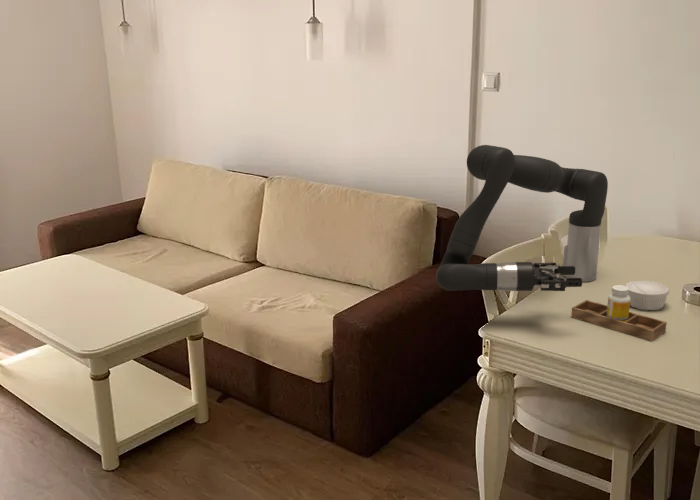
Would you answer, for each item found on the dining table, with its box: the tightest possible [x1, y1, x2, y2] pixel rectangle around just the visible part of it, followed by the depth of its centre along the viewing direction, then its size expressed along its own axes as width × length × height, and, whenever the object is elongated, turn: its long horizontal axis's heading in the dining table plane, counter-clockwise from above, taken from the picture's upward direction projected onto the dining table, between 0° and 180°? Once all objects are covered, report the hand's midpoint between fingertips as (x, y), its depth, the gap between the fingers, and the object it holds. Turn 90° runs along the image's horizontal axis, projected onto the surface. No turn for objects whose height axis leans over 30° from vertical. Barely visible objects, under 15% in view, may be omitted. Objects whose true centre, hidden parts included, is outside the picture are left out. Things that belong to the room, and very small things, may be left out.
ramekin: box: [624, 280, 670, 311], centre depth 198 cm, size 11×11×5 cm
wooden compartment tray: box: [570, 299, 667, 342], centre depth 185 cm, size 22×8×3 cm, turn 44°
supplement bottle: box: [606, 284, 631, 322], centre depth 184 cm, size 5×5×10 cm
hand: (578, 276), depth 183 cm, fingers open, 8 cm apart
